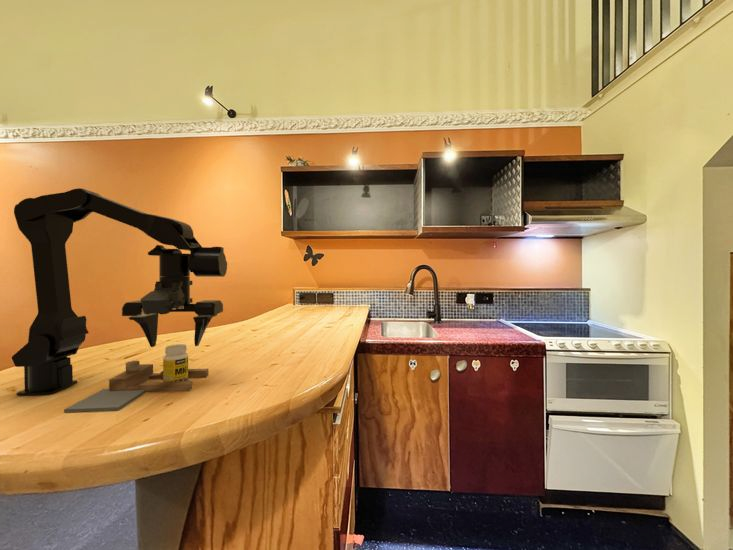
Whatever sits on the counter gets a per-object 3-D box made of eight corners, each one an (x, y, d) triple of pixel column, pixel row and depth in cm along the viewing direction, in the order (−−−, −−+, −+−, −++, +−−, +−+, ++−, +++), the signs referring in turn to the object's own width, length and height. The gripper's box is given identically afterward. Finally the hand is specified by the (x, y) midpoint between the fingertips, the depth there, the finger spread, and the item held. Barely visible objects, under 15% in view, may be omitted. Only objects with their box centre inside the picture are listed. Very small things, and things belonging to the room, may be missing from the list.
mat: (64, 412, 53) (64, 409, 53) (103, 391, 62) (103, 388, 62) (118, 410, 54) (118, 407, 54) (149, 390, 63) (149, 387, 63)
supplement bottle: (176, 388, 64) (175, 349, 64) (157, 386, 65) (157, 348, 64) (193, 380, 68) (193, 344, 68) (175, 378, 69) (175, 342, 69)
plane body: (109, 393, 61) (108, 369, 61) (139, 377, 70) (139, 356, 70) (189, 391, 62) (189, 367, 62) (208, 375, 72) (208, 354, 72)
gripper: (100, 277, 57) (101, 358, 57) (203, 278, 59) (203, 355, 59) (139, 276, 68) (139, 343, 68) (223, 276, 70) (223, 342, 70)
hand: (175, 346), depth 66 cm, fingers open, 9 cm apart
